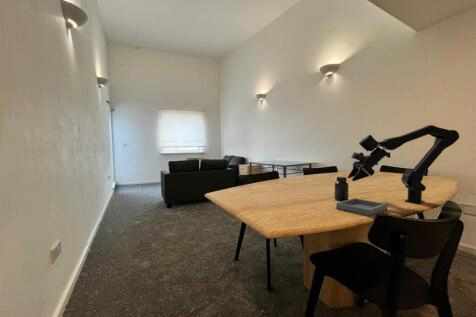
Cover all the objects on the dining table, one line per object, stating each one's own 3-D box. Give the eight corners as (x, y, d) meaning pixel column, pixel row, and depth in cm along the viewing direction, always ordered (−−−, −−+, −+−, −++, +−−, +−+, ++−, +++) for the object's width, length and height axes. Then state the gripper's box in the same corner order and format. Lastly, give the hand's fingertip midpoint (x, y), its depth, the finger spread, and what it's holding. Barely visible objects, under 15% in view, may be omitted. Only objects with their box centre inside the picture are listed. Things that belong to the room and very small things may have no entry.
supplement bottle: (349, 201, 125) (350, 178, 124) (335, 201, 126) (335, 178, 125) (346, 198, 131) (347, 176, 131) (333, 198, 133) (333, 176, 132)
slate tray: (354, 203, 120) (354, 198, 120) (387, 210, 108) (387, 204, 108) (336, 209, 112) (336, 202, 112) (369, 216, 99) (369, 210, 99)
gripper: (357, 146, 134) (335, 166, 137) (367, 147, 116) (342, 170, 119) (372, 160, 133) (350, 180, 136) (385, 164, 115) (359, 186, 118)
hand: (350, 179), depth 127 cm, fingers open, 9 cm apart
